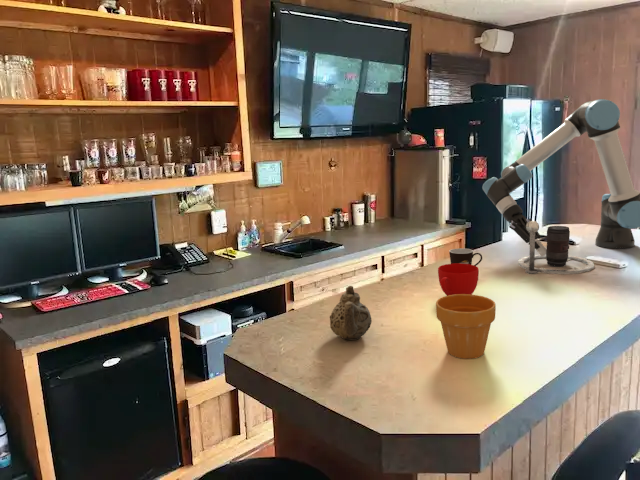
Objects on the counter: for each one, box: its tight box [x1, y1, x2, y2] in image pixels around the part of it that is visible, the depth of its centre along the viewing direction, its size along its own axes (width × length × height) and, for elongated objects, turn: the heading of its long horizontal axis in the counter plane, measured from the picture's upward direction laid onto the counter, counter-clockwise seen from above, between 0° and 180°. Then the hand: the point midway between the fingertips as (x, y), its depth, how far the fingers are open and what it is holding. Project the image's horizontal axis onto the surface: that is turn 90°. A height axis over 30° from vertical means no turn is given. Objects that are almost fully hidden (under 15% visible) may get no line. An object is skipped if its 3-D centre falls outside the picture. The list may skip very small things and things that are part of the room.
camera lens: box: [545, 225, 571, 268], centre depth 205 cm, size 8×8×15 cm
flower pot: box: [435, 294, 497, 360], centre depth 131 cm, size 14×14×13 cm
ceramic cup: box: [437, 263, 480, 296], centre depth 173 cm, size 13×17×10 cm
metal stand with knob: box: [524, 220, 547, 275], centre depth 199 cm, size 11×4×20 cm, turn 125°
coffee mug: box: [448, 247, 483, 267], centre depth 197 cm, size 12×9×10 cm
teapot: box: [329, 285, 373, 340], centre depth 144 cm, size 21×12×15 cm, turn 178°
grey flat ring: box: [517, 254, 595, 275], centre depth 207 cm, size 27×27×1 cm
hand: (545, 254), depth 210 cm, fingers closed
